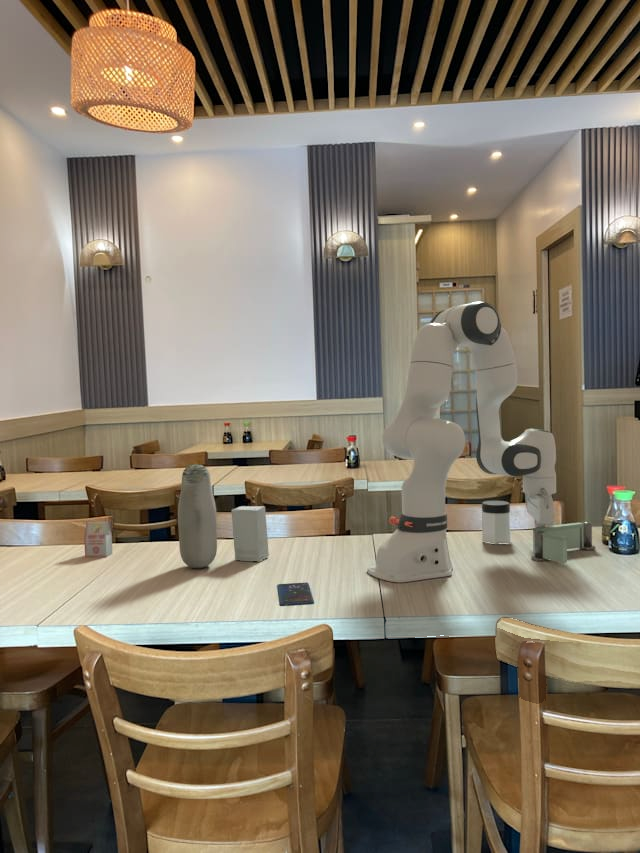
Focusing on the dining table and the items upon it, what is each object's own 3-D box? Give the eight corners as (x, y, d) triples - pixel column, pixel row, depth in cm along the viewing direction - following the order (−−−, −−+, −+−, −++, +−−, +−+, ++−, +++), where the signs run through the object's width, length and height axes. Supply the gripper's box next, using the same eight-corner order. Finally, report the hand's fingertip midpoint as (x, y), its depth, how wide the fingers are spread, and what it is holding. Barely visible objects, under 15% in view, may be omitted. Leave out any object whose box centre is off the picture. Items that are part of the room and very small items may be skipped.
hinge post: (589, 551, 173) (588, 524, 173) (575, 548, 177) (575, 522, 176) (598, 548, 175) (598, 522, 175) (585, 545, 179) (584, 520, 179)
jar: (483, 538, 192) (483, 499, 192) (511, 539, 190) (510, 500, 189) (481, 544, 184) (480, 504, 183) (509, 546, 181) (508, 505, 181)
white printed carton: (91, 553, 186) (90, 521, 186) (112, 554, 185) (111, 521, 185) (85, 557, 183) (83, 523, 182) (106, 557, 182) (105, 523, 181)
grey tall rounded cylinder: (175, 565, 170) (172, 464, 168) (211, 560, 174) (208, 461, 173) (185, 574, 161) (181, 467, 160) (223, 568, 166) (219, 464, 164)
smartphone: (279, 604, 134) (277, 583, 149) (279, 607, 134) (277, 587, 149) (314, 601, 135) (308, 581, 150) (314, 605, 135) (308, 585, 150)
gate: (537, 553, 169) (537, 529, 169) (533, 551, 171) (532, 527, 170) (583, 547, 174) (583, 523, 174) (579, 545, 176) (578, 522, 176)
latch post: (542, 562, 162) (541, 534, 162) (527, 559, 166) (527, 531, 166) (555, 559, 165) (555, 531, 165) (541, 555, 169) (541, 528, 169)
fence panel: (563, 563, 158) (562, 537, 158) (542, 558, 164) (542, 533, 164) (567, 562, 159) (566, 536, 159) (546, 557, 165) (546, 532, 165)
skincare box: (269, 557, 176) (267, 506, 175) (258, 563, 170) (257, 509, 169) (243, 555, 179) (241, 504, 178) (232, 560, 173) (230, 508, 173)
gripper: (560, 491, 162) (560, 543, 163) (543, 481, 183) (543, 527, 183) (535, 491, 163) (535, 543, 164) (521, 481, 184) (521, 527, 184)
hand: (539, 535), depth 174 cm, fingers closed
